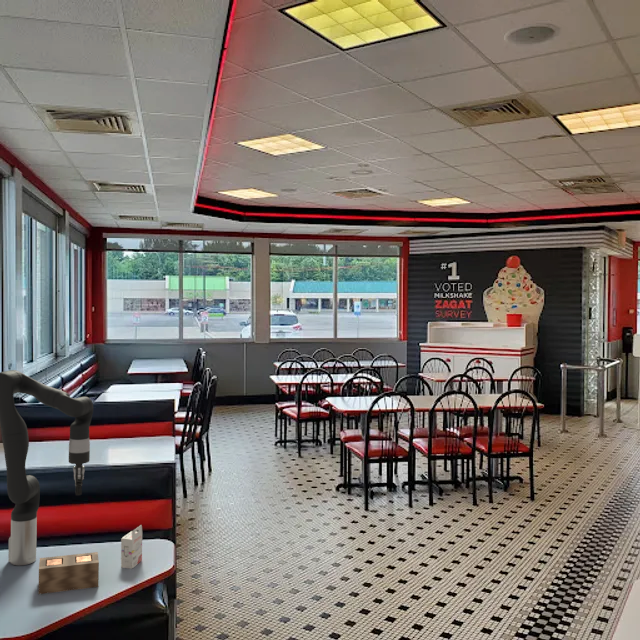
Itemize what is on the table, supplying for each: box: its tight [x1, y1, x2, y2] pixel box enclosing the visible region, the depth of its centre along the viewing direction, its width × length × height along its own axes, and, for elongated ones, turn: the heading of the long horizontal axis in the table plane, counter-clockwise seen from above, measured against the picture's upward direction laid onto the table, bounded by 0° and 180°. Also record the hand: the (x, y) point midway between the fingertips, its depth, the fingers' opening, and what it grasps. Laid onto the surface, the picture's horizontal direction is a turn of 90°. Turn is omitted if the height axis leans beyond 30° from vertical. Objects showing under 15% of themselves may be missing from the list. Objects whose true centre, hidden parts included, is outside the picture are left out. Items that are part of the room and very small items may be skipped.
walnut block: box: [37, 551, 100, 595], centre depth 241 cm, size 20×10×9 cm, turn 111°
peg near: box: [47, 559, 62, 566], centre depth 239 cm, size 5×5×9 cm
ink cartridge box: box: [120, 524, 143, 570], centre depth 260 cm, size 9×5×15 cm, turn 168°
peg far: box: [76, 556, 91, 563], centre depth 242 cm, size 5×5×9 cm
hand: (78, 494), depth 253 cm, fingers closed
